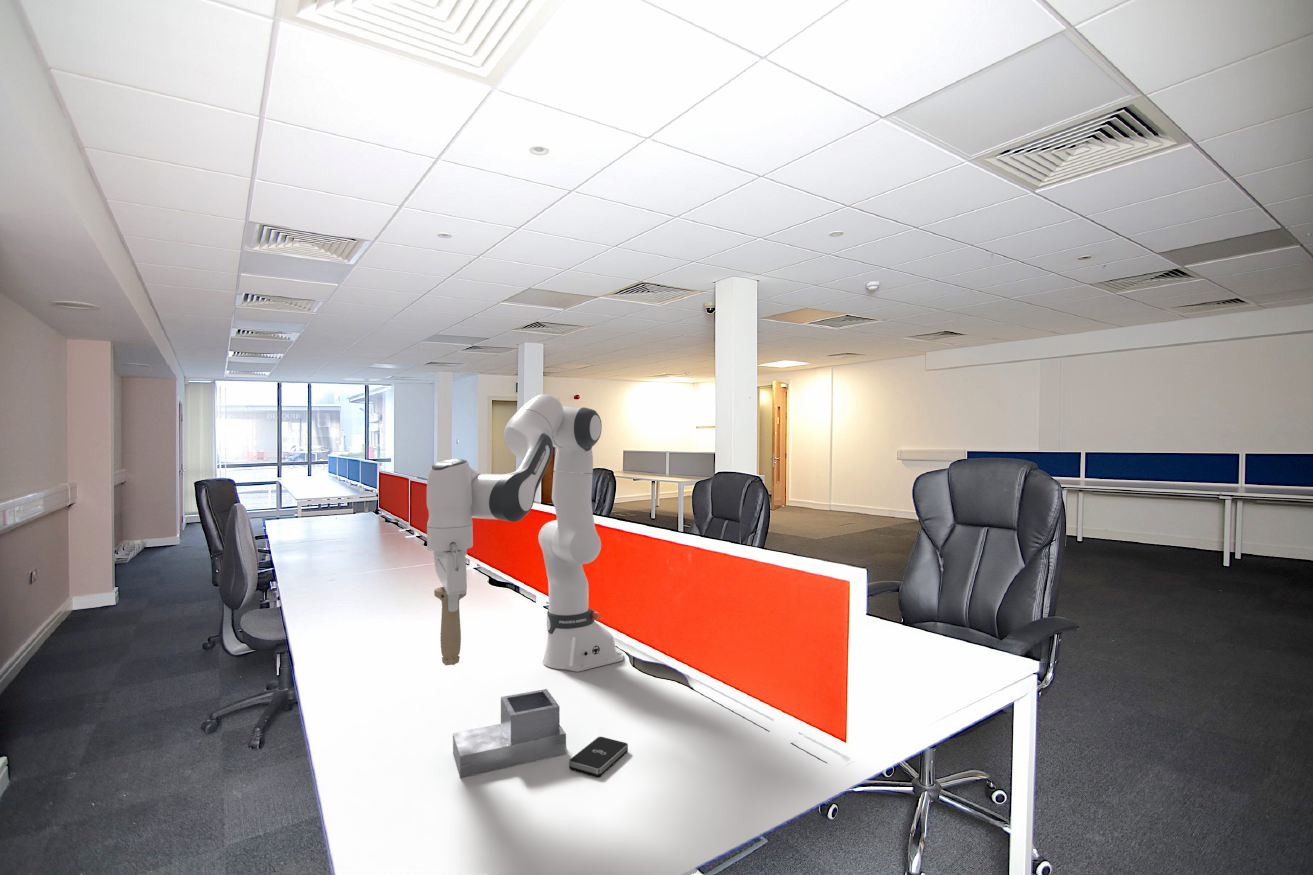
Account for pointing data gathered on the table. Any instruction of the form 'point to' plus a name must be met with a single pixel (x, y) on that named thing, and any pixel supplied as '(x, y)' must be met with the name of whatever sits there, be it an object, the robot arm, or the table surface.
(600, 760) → the external hard drive
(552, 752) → the duct
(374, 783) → the table surface
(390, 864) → the table surface
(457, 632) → the handle
